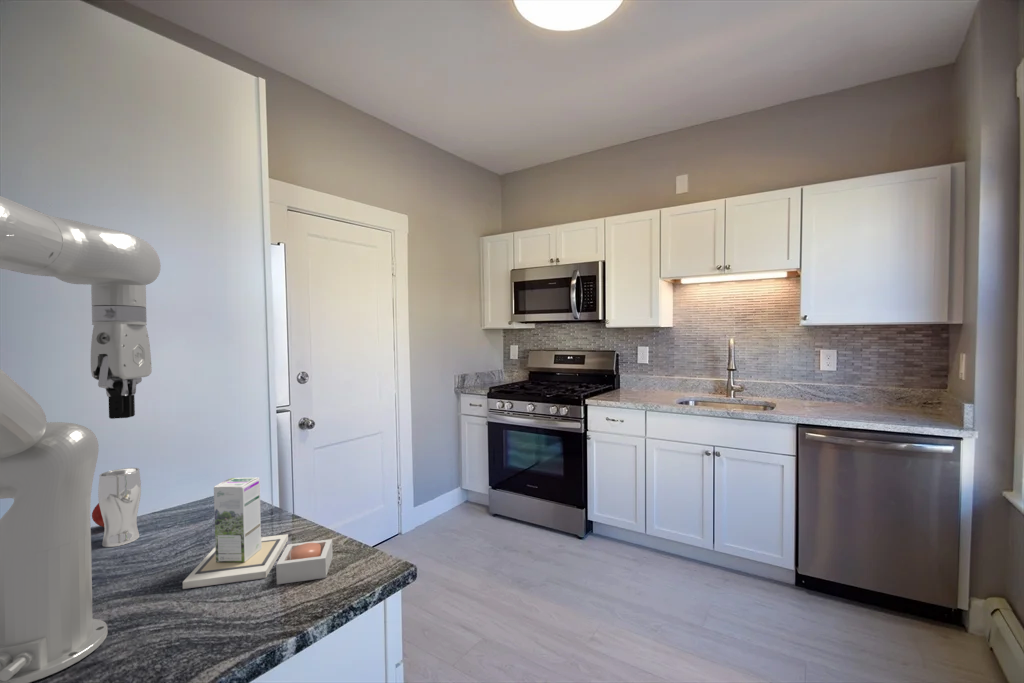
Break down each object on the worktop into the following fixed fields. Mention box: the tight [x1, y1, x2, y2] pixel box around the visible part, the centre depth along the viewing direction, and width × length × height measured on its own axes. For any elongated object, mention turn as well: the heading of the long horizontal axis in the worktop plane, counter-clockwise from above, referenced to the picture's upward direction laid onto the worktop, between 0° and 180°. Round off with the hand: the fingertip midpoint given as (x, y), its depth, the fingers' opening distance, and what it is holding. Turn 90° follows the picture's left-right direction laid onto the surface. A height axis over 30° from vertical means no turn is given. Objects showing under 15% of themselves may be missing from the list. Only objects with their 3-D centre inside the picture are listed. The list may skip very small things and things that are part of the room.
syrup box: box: [213, 477, 262, 562], centre depth 86 cm, size 6×6×14 cm
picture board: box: [182, 534, 289, 590], centre depth 86 cm, size 16×13×1 cm
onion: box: [91, 502, 104, 528], centre depth 104 cm, size 6×6×8 cm
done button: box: [291, 543, 321, 560], centre depth 82 cm, size 5×5×2 cm
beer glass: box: [97, 467, 142, 548], centre depth 97 cm, size 7×7×15 cm
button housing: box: [275, 538, 334, 585], centre depth 82 cm, size 8×8×4 cm
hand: (122, 417), depth 82 cm, fingers closed
